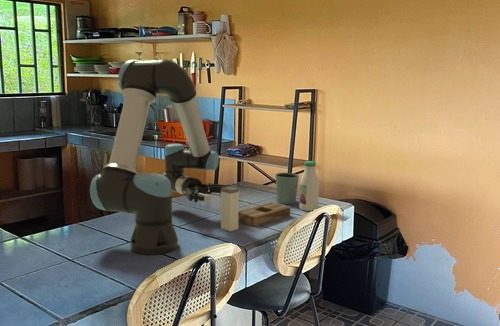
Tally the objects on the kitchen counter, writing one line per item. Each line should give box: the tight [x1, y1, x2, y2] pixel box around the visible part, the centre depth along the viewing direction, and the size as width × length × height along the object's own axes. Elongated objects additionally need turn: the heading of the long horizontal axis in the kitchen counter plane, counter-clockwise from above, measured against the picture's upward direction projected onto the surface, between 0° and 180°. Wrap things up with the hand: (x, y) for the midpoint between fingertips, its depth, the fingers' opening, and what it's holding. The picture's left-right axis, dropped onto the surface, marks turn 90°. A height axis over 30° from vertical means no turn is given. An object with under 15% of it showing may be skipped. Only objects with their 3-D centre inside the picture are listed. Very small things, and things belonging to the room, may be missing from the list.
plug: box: [220, 186, 240, 232], centre depth 176 cm, size 5×4×15 cm
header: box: [238, 202, 291, 228], centre depth 189 cm, size 10×20×4 cm, turn 135°
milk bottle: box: [298, 160, 320, 212], centre depth 201 cm, size 8×8×20 cm
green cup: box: [275, 172, 300, 205], centre depth 213 cm, size 10×10×12 cm
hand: (225, 196), depth 177 cm, fingers open, 13 cm apart
